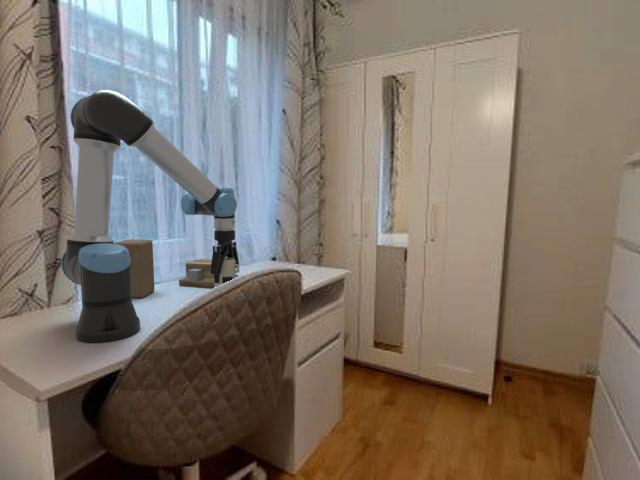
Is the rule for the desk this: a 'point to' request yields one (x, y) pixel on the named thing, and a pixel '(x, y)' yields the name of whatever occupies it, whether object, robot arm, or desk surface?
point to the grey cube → (195, 274)
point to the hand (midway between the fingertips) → (225, 287)
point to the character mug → (228, 269)
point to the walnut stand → (207, 276)
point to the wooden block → (140, 266)
